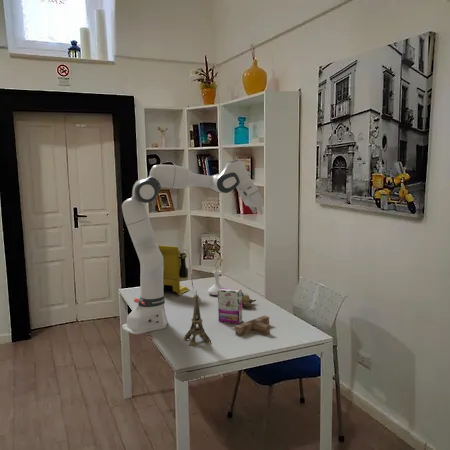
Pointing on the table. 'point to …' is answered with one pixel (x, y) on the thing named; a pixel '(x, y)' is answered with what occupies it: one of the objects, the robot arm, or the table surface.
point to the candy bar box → (230, 305)
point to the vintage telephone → (174, 268)
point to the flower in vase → (216, 279)
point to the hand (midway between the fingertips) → (258, 213)
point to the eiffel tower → (194, 329)
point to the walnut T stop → (254, 326)
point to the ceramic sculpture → (246, 300)
